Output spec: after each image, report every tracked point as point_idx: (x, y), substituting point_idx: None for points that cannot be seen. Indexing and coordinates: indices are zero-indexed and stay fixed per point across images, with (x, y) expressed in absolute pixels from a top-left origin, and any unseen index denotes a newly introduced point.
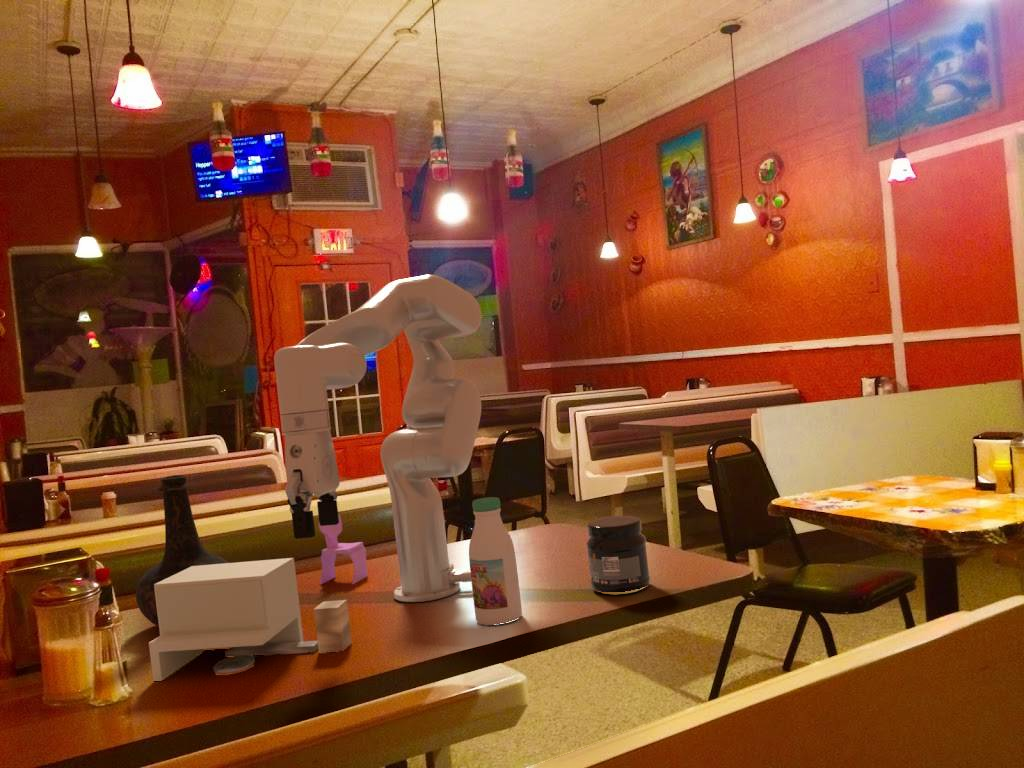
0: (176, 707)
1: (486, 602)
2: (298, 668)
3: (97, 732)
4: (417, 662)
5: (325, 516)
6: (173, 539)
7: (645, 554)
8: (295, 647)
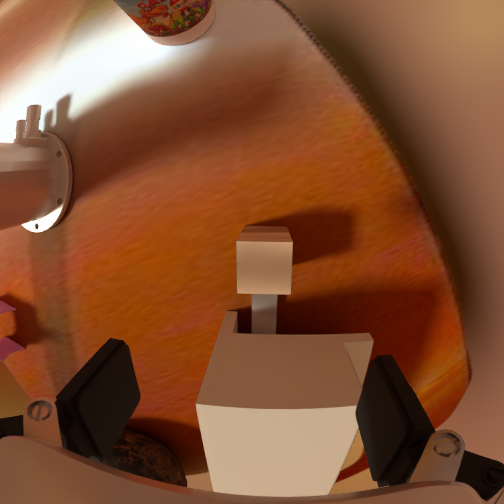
0: (414, 365)
1: (207, 4)
2: (342, 275)
3: (436, 396)
4: (352, 93)
5: (122, 399)
6: None
7: None
8: (276, 308)
